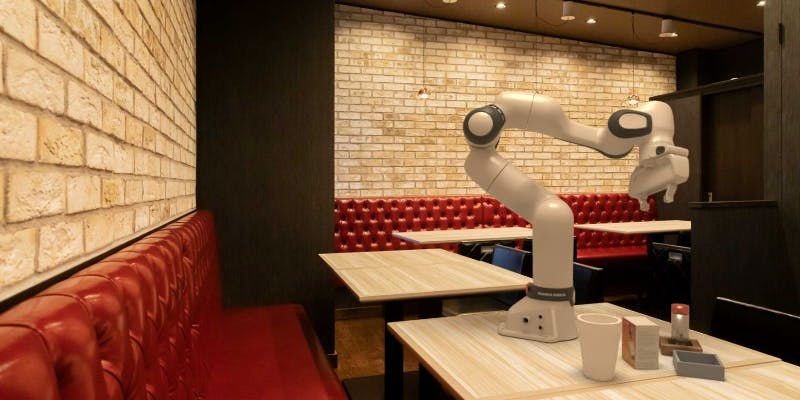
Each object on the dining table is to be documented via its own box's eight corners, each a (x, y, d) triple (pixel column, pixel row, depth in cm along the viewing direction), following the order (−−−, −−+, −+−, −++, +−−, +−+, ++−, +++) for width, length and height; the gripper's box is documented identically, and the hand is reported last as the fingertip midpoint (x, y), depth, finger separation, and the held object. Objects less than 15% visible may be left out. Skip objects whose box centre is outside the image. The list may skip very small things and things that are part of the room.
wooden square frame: (661, 355, 131) (661, 345, 131) (658, 344, 139) (658, 335, 139) (702, 359, 128) (702, 349, 128) (697, 348, 136) (697, 339, 136)
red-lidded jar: (671, 353, 132) (672, 306, 132) (670, 348, 136) (670, 303, 136) (689, 355, 131) (690, 307, 131) (687, 350, 135) (688, 304, 134)
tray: (677, 375, 117) (677, 361, 117) (672, 362, 126) (672, 349, 126) (724, 381, 114) (724, 367, 114) (716, 367, 122) (716, 354, 122)
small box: (621, 358, 129) (621, 316, 129) (644, 358, 129) (644, 316, 129) (634, 369, 121) (635, 324, 121) (659, 369, 121) (659, 324, 121)
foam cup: (597, 386, 111) (598, 326, 111) (567, 372, 120) (568, 316, 119) (630, 379, 115) (631, 321, 115) (599, 366, 124) (599, 311, 123)
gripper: (623, 167, 152) (622, 212, 149) (671, 143, 133) (672, 194, 129) (642, 171, 153) (641, 216, 150) (693, 148, 134) (694, 199, 130)
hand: (656, 206), depth 139 cm, fingers open, 8 cm apart
